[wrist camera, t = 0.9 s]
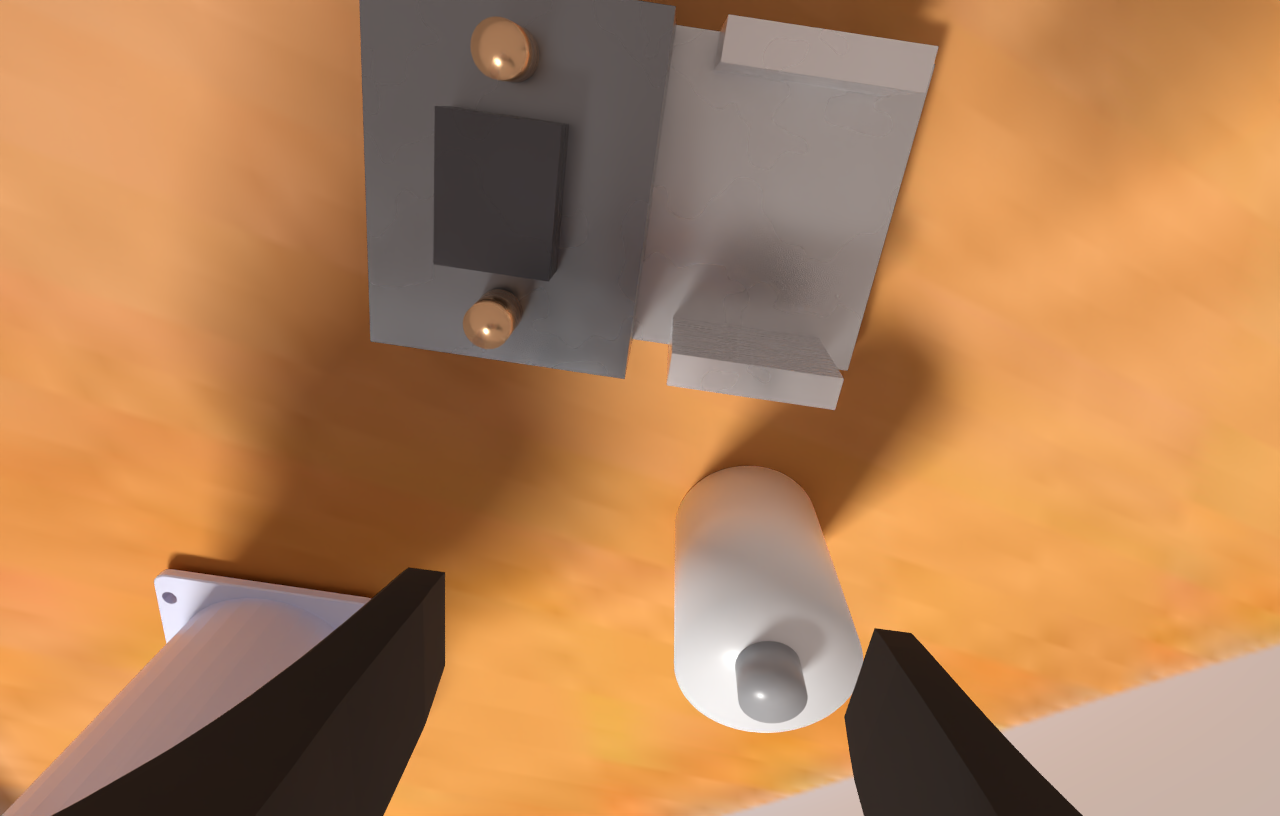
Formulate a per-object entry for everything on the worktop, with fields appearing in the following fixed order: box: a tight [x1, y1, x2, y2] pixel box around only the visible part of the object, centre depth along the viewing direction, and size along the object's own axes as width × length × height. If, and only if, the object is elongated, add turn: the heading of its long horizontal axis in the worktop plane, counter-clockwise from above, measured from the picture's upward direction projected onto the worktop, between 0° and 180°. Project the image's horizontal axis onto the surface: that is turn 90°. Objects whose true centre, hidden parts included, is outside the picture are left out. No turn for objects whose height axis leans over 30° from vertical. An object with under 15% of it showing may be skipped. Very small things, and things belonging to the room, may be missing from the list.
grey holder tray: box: [360, 0, 939, 410], centre depth 15 cm, size 8×12×5 cm, turn 82°
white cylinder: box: [674, 466, 863, 733], centre depth 19 cm, size 5×5×7 cm
